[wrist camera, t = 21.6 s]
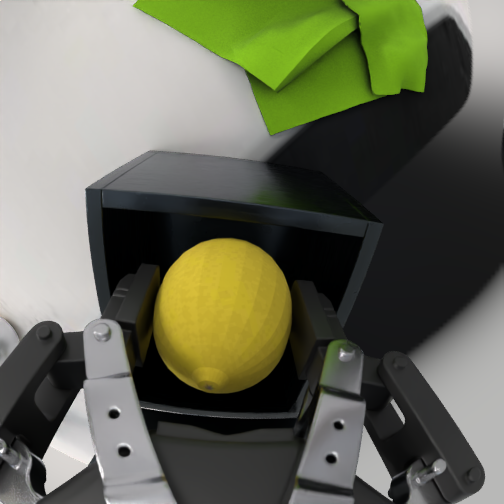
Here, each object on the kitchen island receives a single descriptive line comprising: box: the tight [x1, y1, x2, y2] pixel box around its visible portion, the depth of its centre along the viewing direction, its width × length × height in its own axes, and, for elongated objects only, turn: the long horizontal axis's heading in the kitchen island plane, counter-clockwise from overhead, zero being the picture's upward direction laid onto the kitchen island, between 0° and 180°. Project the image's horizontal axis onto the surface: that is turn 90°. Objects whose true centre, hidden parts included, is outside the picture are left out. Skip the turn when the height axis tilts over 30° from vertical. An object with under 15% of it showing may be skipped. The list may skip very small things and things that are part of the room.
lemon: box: [153, 238, 292, 393], centre depth 11 cm, size 6×6×8 cm
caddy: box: [85, 151, 383, 418], centre depth 18 cm, size 16×13×10 cm
